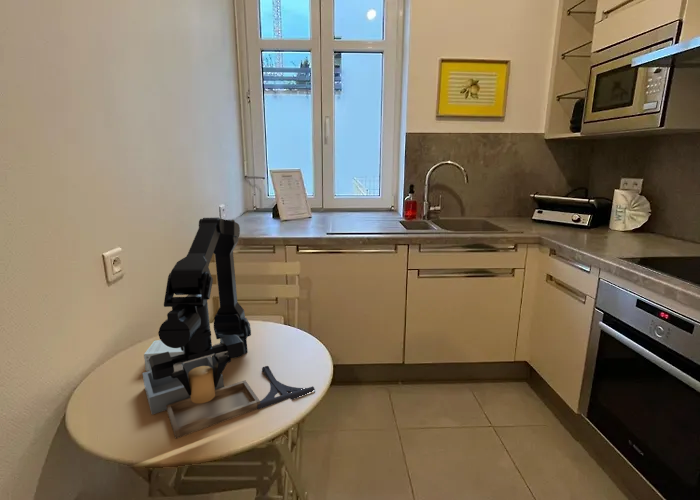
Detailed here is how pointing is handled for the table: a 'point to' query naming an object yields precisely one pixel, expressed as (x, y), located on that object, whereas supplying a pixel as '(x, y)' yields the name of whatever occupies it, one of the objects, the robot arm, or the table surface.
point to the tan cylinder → (201, 384)
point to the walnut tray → (212, 409)
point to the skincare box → (159, 351)
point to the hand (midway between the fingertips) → (202, 390)
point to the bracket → (280, 390)
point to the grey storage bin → (171, 387)
